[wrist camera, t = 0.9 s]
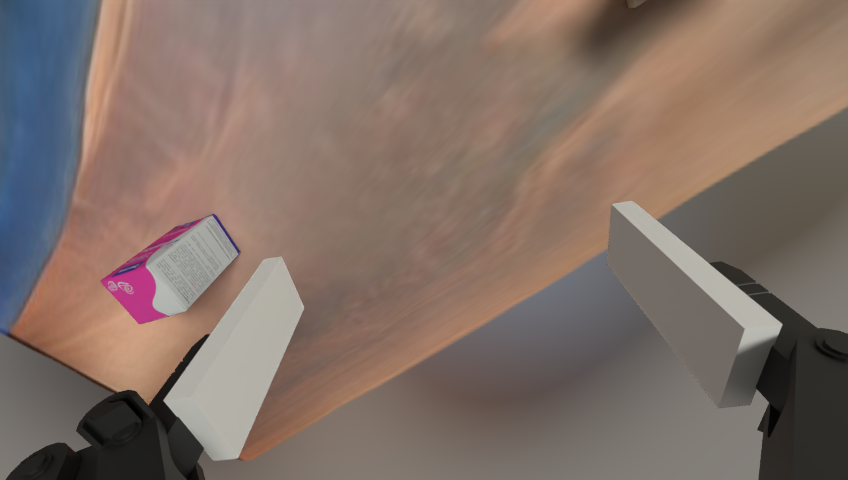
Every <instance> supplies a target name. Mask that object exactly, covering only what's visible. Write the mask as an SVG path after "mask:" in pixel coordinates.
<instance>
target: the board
mask: <svg viewBox="0 0 848 480" xmlns="http://www.w3.org/2000/svg"><path fill="white" fill-rule="evenodd" d="M626 1H627V5H628V8H636V7H637V6H639V5H640V4H642V3H644V2H645V1H647V0H626Z"/></svg>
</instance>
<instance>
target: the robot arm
mask: <svg viewBox="0 0 848 480" xmlns="http://www.w3.org/2000/svg"><path fill="white" fill-rule="evenodd" d="M607 265H608V266H609V268H610V269H611V270H612V272H613V273H614V274H615V275H616V277H617V278H618V279H619V281H620V282H621V283H622V284H623V286H624V287H625V288H626V290H627V291H628V292H629V294H630V295H631V296H632V298H633V299H634V300H635V301H636V303H637V304H638V305H639V307H640V308H641V309H642V310H643V312H644V313H645V314H646V316H647V317H648V318H649V319H650V321H651V322H652V323H653V325H654V326H655V327H656V329H657V330H658V331H659V332H660V334H661V335H662V336H663V338H664V339H665V340H666V341H667V343H668V344H669V345H670V347H671V348H672V349H673V350H674V352H675V353H676V354H677V356H678V357H679V358H680V359H681V361H682V362H683V363H684V365H685V366H686V367H687V369H688V370H689V371H690V372H691V374H692V375H693V376H694V378H695V379H696V380H697V382H698V383H699V384H700V385H701V387H702V388H703V389H704V391H705V392H706V393H707V394H708V396H709V397H710V398H711V400H712V401H713V402H714V403H715V405H716V406H717V407H718V408H726V407H736V406H745V405H750V404H751V402H752V399H753V396H754V394H755V392H756V389H757V390H758V391H759V392H760V393H761V394H762V395H763V396H764V397H765V398H766V399H767V401H768V402H769V405H768V407H767V409H766V411H765V413H764V416H763V418H762V420H761V423H760V425H759V427H758V430H759V431H761V432H763V441H762V450H761V460H760V470H759V480H848V334H847V333H844V332H841V331H837V330H831V329H824V328H816V327H815V326H814V325H813V324H811V323H810V322H808V321H807V320H806V319H804V318H803V317H802V316H801V315H799V314H798V313H796V312H795V311H794V310H793V309H791V308H790V307H789V306H787V305H786V304H785V303H784V302H782V301H781V300H779V299H778V298H777V297H776V296H774V295H773V294H772V293H770V294H769V293H768V290H766V289H765V288H764V287H763V286H761V285H760V284H756V281H755V280H753V279H752V278H751V277H749V276H748V275H747V274H745V273H744V272H743V271H741V270H740V269H737V268H735V267H733V266H730V265H728V264H726V263H723V262H713V263H708V262H706V261H705V260H704V259H703V258H701V257H700V256H699V255H698V254H697V253H695V252H694V251H693V250H692V249H691V248H689V247H688V246H687V245H685V244H684V243H683V242H682V241H681V240H679V239H678V238H677V237H676V236H674V235H673V234H672V233H671V232H670V231H669V230H667V229H666V228H665V227H664V226H663V225H661V224H660V223H659V222H658V221H656V220H655V219H654V218H653V217H652V216H650V215H649V214H648V213H647V212H646V211H644V210H643V209H642V208H641V207H639V206H638V205H637V204H636V203H635V202H633V201H628V202H622V203H615V204H611V216H610V229H609V242H608V255H607ZM303 310H304V306H303V303H302V301H301V299H300V297H299V294H298V292H297V290H296V288H295V285H294V283H293V281H292V279H291V277H290V274H289V272H288V270H287V268H286V265H285V263H284V261H283V259H282V256H281V257H275V258H269V259H264V260H263V261H262V263H261V264H260V266H259V267H258V268H257V270H256V271H255V273H254V274H253V275H252V277H251V278H250V280H249V281H248V282H247V284H246V285H245V287H244V288H243V289H242V291H241V292H240V294H239V295H238V296H237V298H236V299H235V301H234V302H233V303H232V305H231V306H230V308H229V309H228V310H227V312H226V313H225V315H224V316H223V317H222V319H221V320H220V322H219V323H218V324H217V326H216V327H215V329H214V330H213V331H212V333H211V334H207V335H205V336H204V337H203V338H202V339H200V340H199V341H198V342H197V343H196V344H195V345H194V346H192V348H191V349H190V350H189V352H188V353H187V354H186V356H185V357H184V358H183V362H180V364H179V365H178V366H177V368H176V369H175V372H174V373H172V375H171V376H170V377H169V379H168V380H167V381H166V383H165V384H164V385H163V387H162V388H161V389H160V391H159V392H158V393H157V395H156V396H155V397H154V399H153V400H152V401H151V403H150V404H149V405H147V404H146V402H145V401H144V400H143V399H142V398H141V397H140V396H139V394H138V393H137V392H136V391H133V390H126V391H121V392H118V393H116V394H114V395H111V396H109V397H107V398H106V399H104V400H103V401H101V402H100V403H98V404H97V405H96V406H94V407H93V408H92V409H91V410H90V411H89V412H88V413H86V415H85V416H84V417H83V419H82V420H81V421H80V422H79V425H78V427H77V430H76V431H77V432H78V433H79V434H80V435H81V436H82V437H83V438H84V439H86V441H88V442H89V443H90V444H91V445H92V446H90V447H87V448H85V449H82V450H79V451H77V452H74V451H73V450H72V449H71V448H70V447H69V446H68V445H67V444H65V443H55V444H52V445H49V446H46V447H44V448H42V449H41V450H39V451H37V452H35V453H33V454H32V455H30V456H29V457H28V458H26V459H25V460H23V461H22V462H21V463H20V464H19V465H18V466H17V467H16V468H15V469H14V470H13V471H12V472H11V473H10V474H9V476H8V477H7V479H6V480H205V477H204V474H203V470H202V468H201V466H200V465H199V464H198V462H197V461H198V459H199V457H200V455H201V453H202V451H203V449H204V450H205V451H206V453H207V454H208V455H209V456H210V457H211V459H212V460H213V461H217V460H226V459H237V458H238V457H239V455H240V452H241V450H242V448H243V446H244V443H245V441H246V439H247V437H248V434H249V432H250V430H251V428H252V425H253V423H254V421H255V418H256V416H257V414H258V412H259V409H260V407H261V405H262V403H263V400H264V398H265V396H266V394H267V391H268V389H269V387H270V385H271V382H272V380H273V378H274V375H275V373H276V371H277V369H278V366H279V364H280V362H281V360H282V357H283V355H284V353H285V351H286V348H287V346H288V344H289V342H290V339H291V337H292V335H293V332H294V330H295V328H296V326H297V323H298V321H299V319H300V317H301V314H302V312H303Z"/></svg>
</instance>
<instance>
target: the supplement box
mask: <svg viewBox="0 0 848 480" xmlns="http://www.w3.org/2000/svg"><path fill="white" fill-rule="evenodd" d="M240 253H241V252H240V250H239V249H238V247H237V246H236V244H235V243H234V241H233V240H232V238H231V237H230V236H229V234H228V233H227V231H226V230H225V228H224V226H223V225H222V223H221V222H220V221H219V219H218V218H217V216H216V215H215V214H212V215H210V216H207V217H205V218H202V219H200V220H196V221H193V222H190V223H187V224H184V225H181V226H177V227H175V228H173V229H172V230H171V231H169V232H168V233H166V234H165V235H164V236H162V237H161V238H159V239H158V240H157V241H155V242H154V243H152V244H151V245H150V246H148V247H147V248H145V249H144V250H143V251H141V252H140V253H138V254H137V255H136V256H134V257H133V258H132V259H130V260H129V261H127V262H126V263H125V264H123V265H122V266H120V267H119V268H118V269H116V270H115V271H113V272H112V273H111V274H109V275H108V276H106V277H105V278H103V279H102V280H101V283H102V284H103V285H104V286H105V288H106V289H107V290H108V291H109V292H110V293H111V294H112V295H113V296H114V297H115V298H116V299H117V300H118V301H119V302H120V303H121V305H122V306H123V307H124V308H125V309H126V310H127V311H128V312H129V314H130V315H131V316H132V317H133V318H134V319H135V320H136V321H137V323H138V324H143V323H147V322H151V321H154V320H158V319H161V318H165V317H168V316H172V315H175V314H178V313H182V312H185V311H187V310H188V309H189V307H190V306H191V305H192V304H193V303H194V302H195V301H196V300H197V299H198V298H199V297H200V296H201V294H202V293H203V292H204V291H205V290H206V289H207V288H208V287H209V286H210V285H211V284H212V283H213V281H214V280H215V279H216V278H217V277H218V276H219V275H220V274H221V273H222V272H223V271H224V269H225V268H226V267H227V266H228V265H229V264H230V263H231V262H232V261H233V260H234V259H235V258H236V257H237V256H238V255H239V254H240Z"/></svg>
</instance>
